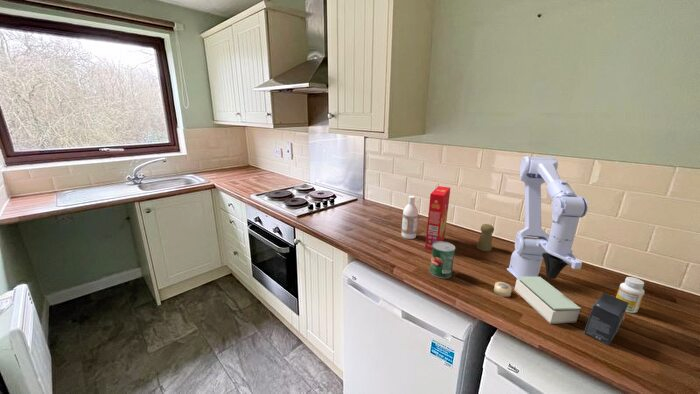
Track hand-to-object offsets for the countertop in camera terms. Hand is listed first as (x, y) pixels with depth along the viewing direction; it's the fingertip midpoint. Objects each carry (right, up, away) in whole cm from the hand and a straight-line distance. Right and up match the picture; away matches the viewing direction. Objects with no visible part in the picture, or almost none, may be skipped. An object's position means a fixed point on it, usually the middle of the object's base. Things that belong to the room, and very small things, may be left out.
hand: (551, 277), depth 86 cm
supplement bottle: (+25, -10, +2) cm, 27 cm away
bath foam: (-33, +5, +50) cm, 60 cm away
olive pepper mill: (-2, +2, +39) cm, 39 cm away
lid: (0, -5, +2) cm, 5 cm away
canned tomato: (-27, -4, +20) cm, 34 cm away
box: (+8, -13, -8) cm, 17 cm away
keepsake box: (-1, -9, +3) cm, 10 cm away
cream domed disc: (-10, -7, +9) cm, 15 cm away
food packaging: (-22, +3, +43) cm, 49 cm away
